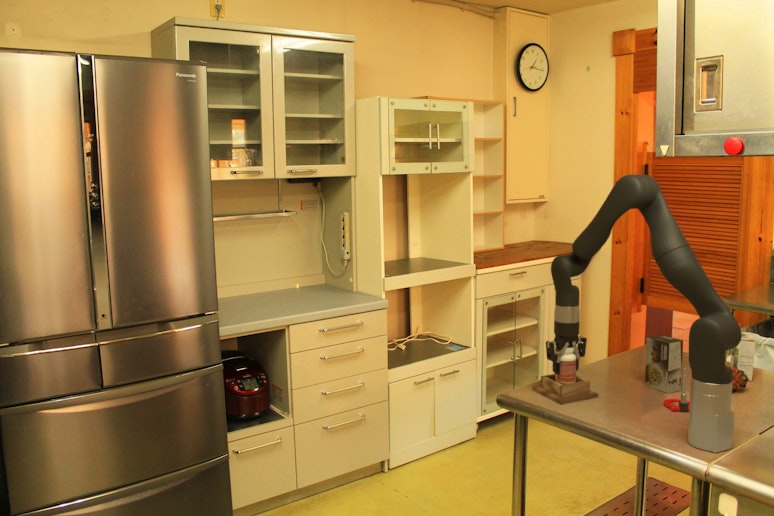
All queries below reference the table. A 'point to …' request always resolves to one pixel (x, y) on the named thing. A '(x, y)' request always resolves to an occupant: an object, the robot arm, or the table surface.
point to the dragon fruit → (738, 379)
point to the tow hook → (683, 403)
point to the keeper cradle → (565, 390)
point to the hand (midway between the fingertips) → (565, 371)
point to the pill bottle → (567, 367)
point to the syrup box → (744, 355)
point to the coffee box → (664, 363)
